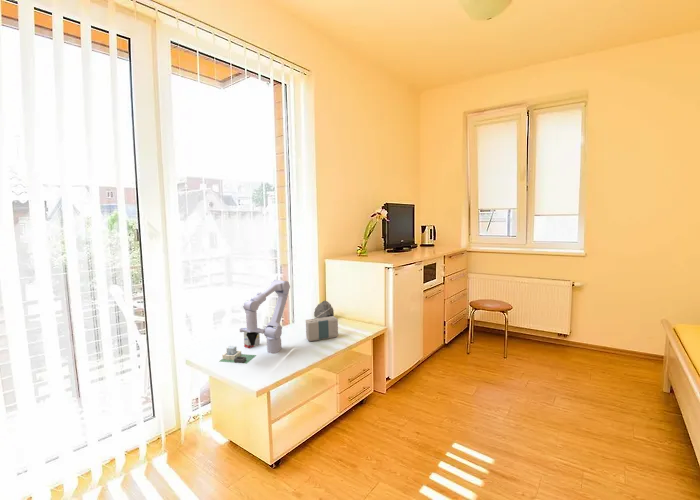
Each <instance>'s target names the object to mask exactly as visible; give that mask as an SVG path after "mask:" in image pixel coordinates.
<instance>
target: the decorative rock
mask: <svg viewBox="0 0 700 500" xmlns="http://www.w3.org/2000/svg"><path fill="white" fill-rule="evenodd" d="M331 307H332V308H331ZM329 308H330V309H329ZM328 309H329V310H328ZM326 310H327V311H326ZM325 311H326V312H325ZM334 311H335V310H334V308H333V306H332V305H331V303H330V302H329V301H327V300H322V301H321V302H320V303H318V304H317V305H316V307H315V309H314V312H313V317H314V318H316V317H317V316H318V317H317V318H323V317H330V316H334V313H335V312H334ZM323 312H324V313H323ZM322 313H323V314H322ZM320 314H321V315H320ZM319 315H320V316H319ZM334 317H335V316H334Z"/></svg>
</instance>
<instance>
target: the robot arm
mask: <svg viewBox="0 0 700 500" xmlns="http://www.w3.org/2000/svg"><path fill="white" fill-rule="evenodd" d="M290 288H291V285H290V283H289V281H287V280H280V279H274V280H272V281H271V282H270V284H269V286H267V288H265V289H264V291H262V292H261V291H260V292H257V293H256V294H255V295H254V296H253V297H251V298H250V299H249V300H246V301H245V302H244V303H243V305H242V308H243V310H244V312H245V320H246V327H241V328H239V333H244V332H247V334H246V336H247V337H248V339H249V341H250V344H251V346H253V345H255V340H256V337H257V335H258V333H259V334H262V335H264V336H265V338H266V346H267V347H266V350H267V353H269V354H276V353H279V352H280V350H281V349H282V338H281V336H282V333H283V332H282V330H283V326H282V325H281V320H282V318H283V313H284V310H285V306H286V304H287V300H288V297H289V291H290ZM272 293H275V294H277V297H278V298H277V301H276V304H275V307H274V310H273V314H272V316H271V319H270V321H269V322H268V323H266V326H265V327H264V329H263V328H260V327H258V317H257V314H258V313H257V312H258V311H257V310H258V309H259V307H260V306H261V305H262V304H263V303H264V302H265V301H266V300H267V297H268V296H270V295H271V294H272Z"/></svg>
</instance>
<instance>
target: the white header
mask: <svg viewBox="0 0 700 500" xmlns="http://www.w3.org/2000/svg"><path fill="white" fill-rule="evenodd" d="M241 354H242V350H237V353H236V354H235V355H227V351H226V352H224V353H223V354H222V357H221V358H222V359H226V360H234V359H235V358H236V357H237V356H238V357H239V356H241Z"/></svg>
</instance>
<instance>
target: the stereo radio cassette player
mask: <svg viewBox="0 0 700 500" xmlns="http://www.w3.org/2000/svg"><path fill="white" fill-rule="evenodd" d="M331 308H333V306H332V307H331ZM329 309H330V308H329ZM329 309H328V310H329ZM326 311H327V310H326ZM326 311H325V312H326ZM323 313H324V312H323ZM323 313H322V314H323ZM320 315H321V314H320ZM320 315H319V316H320ZM317 317H318V316H317ZM317 317H314V318H310V319H305V337H306V339H307V341H308V342H313V341H314V342H315V341H320V340H326V339H332V338H337V337H338V336H339V319H338V318H337V317H335V316H330V317H323V318H317Z"/></svg>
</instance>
